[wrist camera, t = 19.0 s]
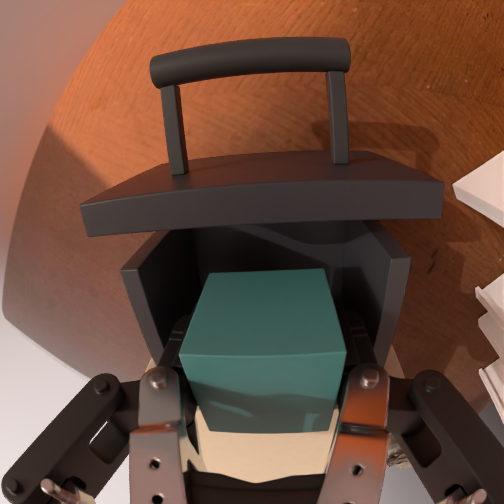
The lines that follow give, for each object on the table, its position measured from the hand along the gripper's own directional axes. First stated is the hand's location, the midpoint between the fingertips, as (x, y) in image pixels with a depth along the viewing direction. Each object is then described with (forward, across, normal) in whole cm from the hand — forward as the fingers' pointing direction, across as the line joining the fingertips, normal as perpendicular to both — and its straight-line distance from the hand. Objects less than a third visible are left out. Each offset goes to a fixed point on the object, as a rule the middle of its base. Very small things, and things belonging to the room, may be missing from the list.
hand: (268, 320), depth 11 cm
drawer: (+6, 0, -2) cm, 7 cm away
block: (0, 0, 0) cm, 0 cm away
